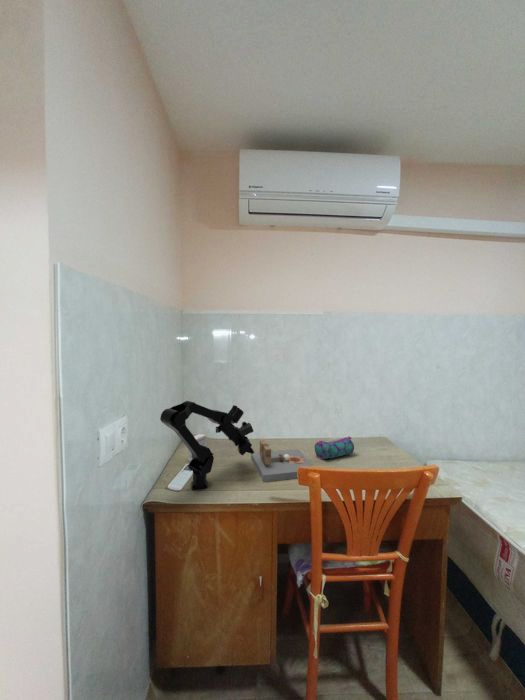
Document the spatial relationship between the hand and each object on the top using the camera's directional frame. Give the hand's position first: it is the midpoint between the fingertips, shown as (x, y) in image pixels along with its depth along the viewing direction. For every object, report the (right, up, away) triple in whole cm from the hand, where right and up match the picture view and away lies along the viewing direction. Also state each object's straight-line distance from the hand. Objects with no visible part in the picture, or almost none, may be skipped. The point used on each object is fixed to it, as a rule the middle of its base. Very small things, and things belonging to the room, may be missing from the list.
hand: (253, 452), depth 131 cm
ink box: (-29, -7, +10) cm, 32 cm away
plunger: (+9, -5, +3) cm, 11 cm away
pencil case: (+43, -9, +18) cm, 48 cm away
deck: (+14, -8, +4) cm, 17 cm away
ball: (+16, -4, +4) cm, 17 cm away
